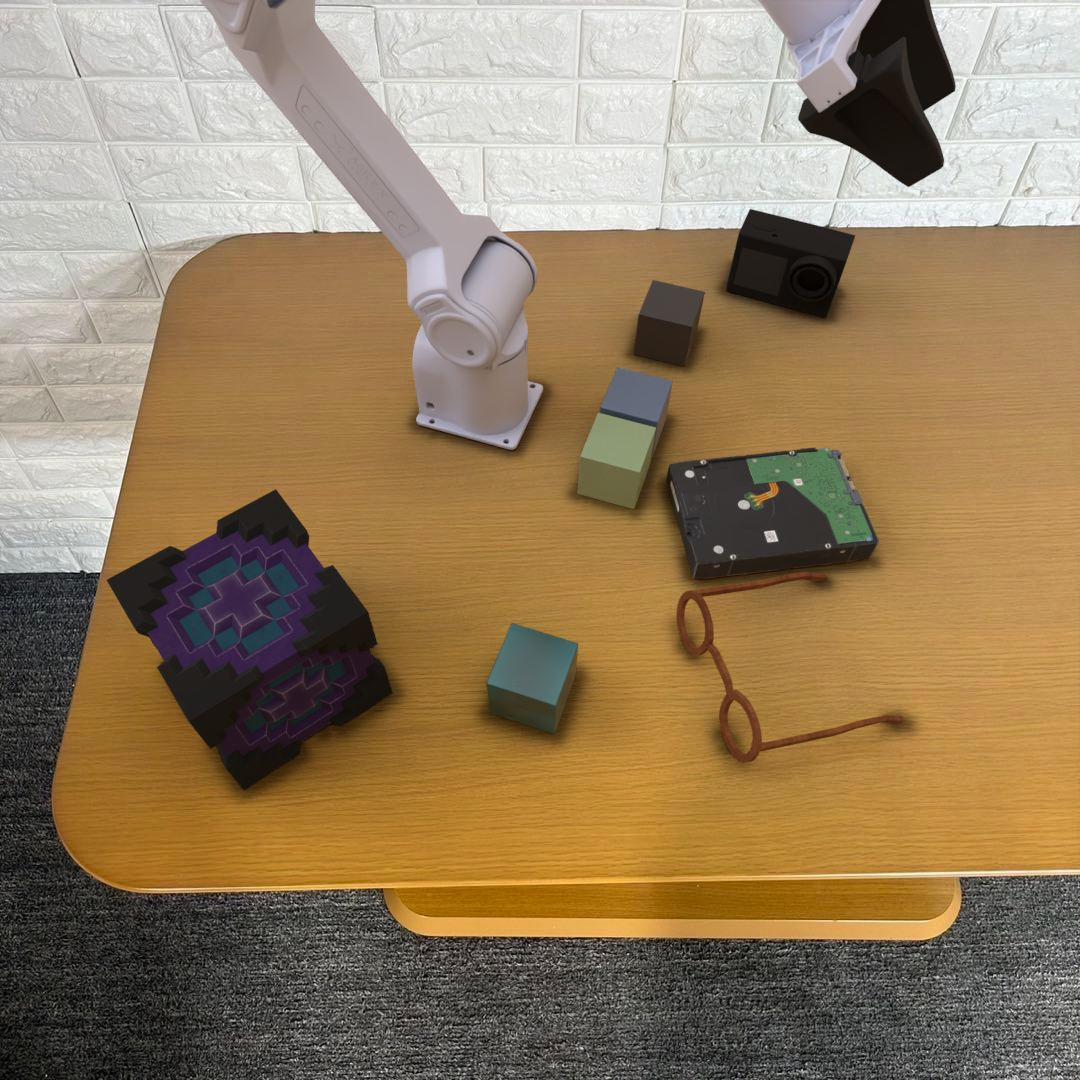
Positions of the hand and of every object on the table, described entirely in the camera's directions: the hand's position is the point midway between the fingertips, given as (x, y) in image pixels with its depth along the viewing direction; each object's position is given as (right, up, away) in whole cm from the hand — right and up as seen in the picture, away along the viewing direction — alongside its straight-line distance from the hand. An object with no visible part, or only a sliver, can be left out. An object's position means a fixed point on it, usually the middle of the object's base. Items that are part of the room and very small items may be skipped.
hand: (932, 135), depth 50 cm
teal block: (-22, -34, +16) cm, 43 cm away
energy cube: (-41, -33, +17) cm, 55 cm away
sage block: (-15, -17, +27) cm, 36 cm away
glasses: (-4, -32, +17) cm, 37 cm away
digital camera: (+2, +2, +41) cm, 41 cm away
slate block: (-14, -13, +30) cm, 35 cm away
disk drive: (-3, -21, +25) cm, 33 cm away
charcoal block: (-10, -3, +37) cm, 38 cm away
